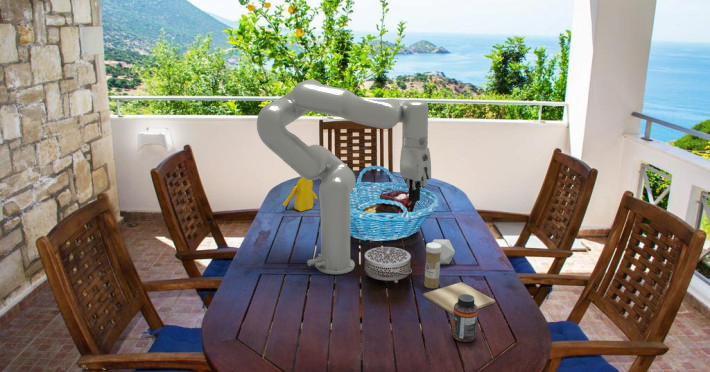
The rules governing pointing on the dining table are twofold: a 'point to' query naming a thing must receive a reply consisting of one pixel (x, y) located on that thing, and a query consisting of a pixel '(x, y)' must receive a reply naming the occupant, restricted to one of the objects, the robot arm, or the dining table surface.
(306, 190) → the figure statuette
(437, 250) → the sprinkles bottle
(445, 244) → the die
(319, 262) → the robot arm
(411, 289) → the dining table surface
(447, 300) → the board
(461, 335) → the supplement bottle
